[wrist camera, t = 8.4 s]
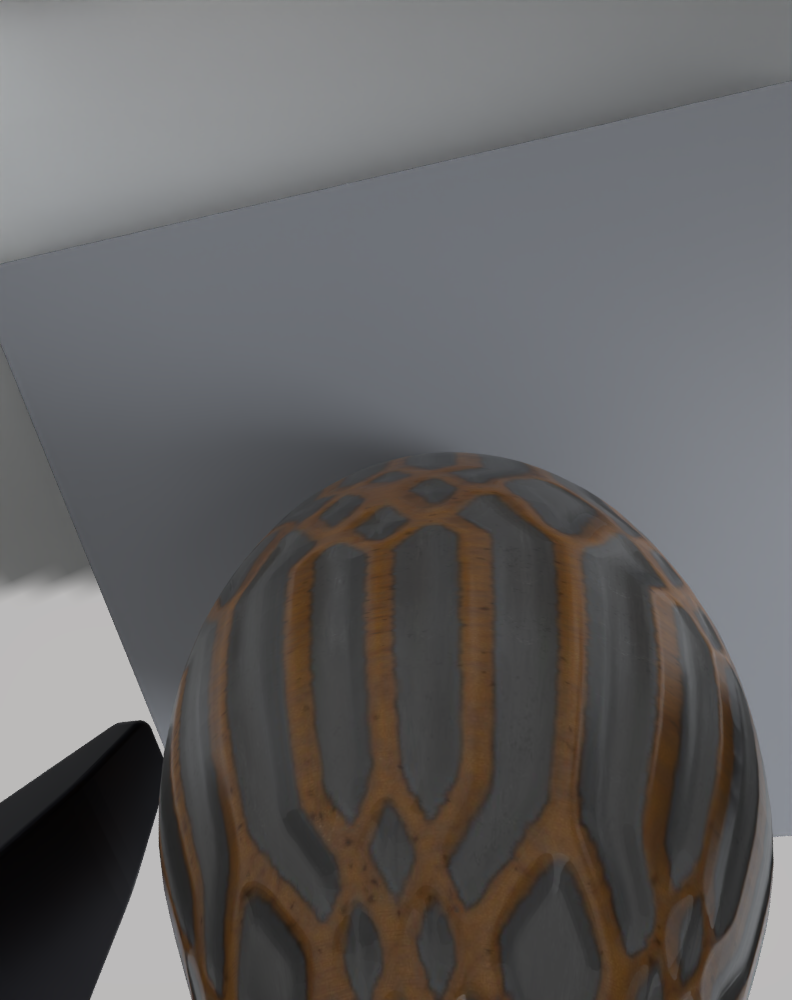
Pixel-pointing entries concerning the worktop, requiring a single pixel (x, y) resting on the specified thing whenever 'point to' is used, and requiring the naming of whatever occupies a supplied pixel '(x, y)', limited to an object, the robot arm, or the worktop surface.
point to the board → (442, 368)
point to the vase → (463, 757)
